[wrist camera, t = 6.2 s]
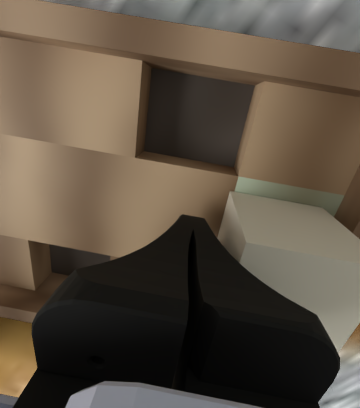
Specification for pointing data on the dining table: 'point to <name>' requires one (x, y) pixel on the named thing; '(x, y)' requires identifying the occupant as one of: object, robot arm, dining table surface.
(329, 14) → the dining table surface
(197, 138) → the tray
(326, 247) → the block
